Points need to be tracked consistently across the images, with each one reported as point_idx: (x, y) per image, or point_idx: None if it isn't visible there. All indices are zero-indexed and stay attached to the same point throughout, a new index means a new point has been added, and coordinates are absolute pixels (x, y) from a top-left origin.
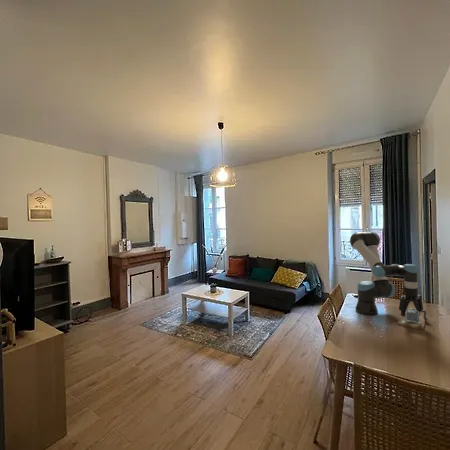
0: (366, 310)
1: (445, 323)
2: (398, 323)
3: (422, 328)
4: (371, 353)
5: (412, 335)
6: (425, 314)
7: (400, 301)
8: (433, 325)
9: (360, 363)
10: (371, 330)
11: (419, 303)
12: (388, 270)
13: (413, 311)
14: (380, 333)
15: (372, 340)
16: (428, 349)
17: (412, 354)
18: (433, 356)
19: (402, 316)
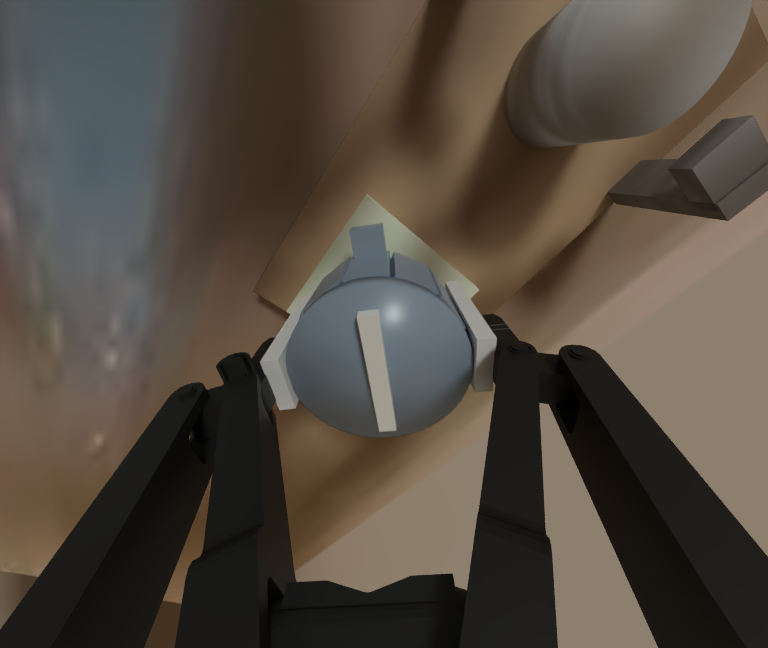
0: None
1: (744, 246)
2: (260, 294)
3: None
4: (54, 541)
5: (291, 431)
6: (672, 209)
7: (56, 578)
8: (577, 291)
9: (22, 573)
10: (31, 376)
11: (603, 493)
12: None
13: (418, 370)
14: (96, 412)
15: (50, 473)
16: (292, 522)
17: None
18: None
19: (415, 67)
